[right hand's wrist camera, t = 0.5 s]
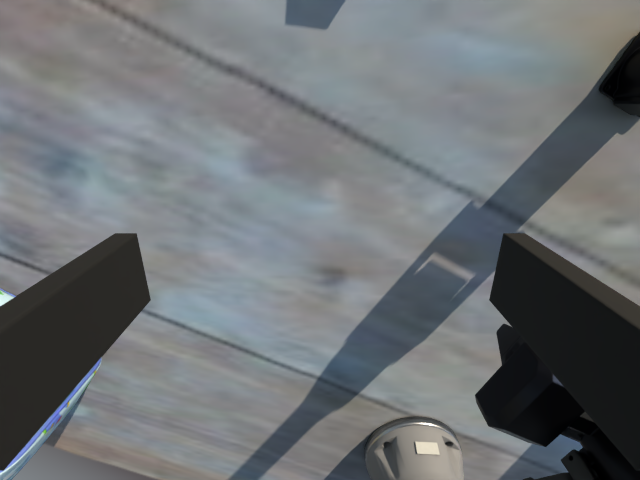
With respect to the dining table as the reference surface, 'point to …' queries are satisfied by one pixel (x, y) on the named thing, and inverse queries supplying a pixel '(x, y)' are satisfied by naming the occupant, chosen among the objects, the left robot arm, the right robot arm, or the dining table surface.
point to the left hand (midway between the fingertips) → (541, 347)
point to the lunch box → (4, 477)
